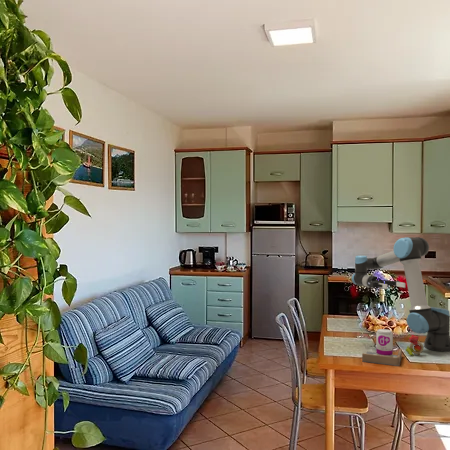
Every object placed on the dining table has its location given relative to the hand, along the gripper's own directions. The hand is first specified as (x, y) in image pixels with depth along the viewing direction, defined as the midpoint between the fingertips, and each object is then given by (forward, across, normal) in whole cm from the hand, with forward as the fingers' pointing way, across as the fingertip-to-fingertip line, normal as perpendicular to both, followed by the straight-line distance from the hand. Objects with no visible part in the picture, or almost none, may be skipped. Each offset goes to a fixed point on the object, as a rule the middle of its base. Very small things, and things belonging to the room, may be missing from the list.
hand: (396, 286), depth 264 cm
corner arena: (+17, +26, -35) cm, 47 cm away
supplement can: (+19, +26, -35) cm, 47 cm away
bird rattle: (+18, +5, -35) cm, 40 cm away
